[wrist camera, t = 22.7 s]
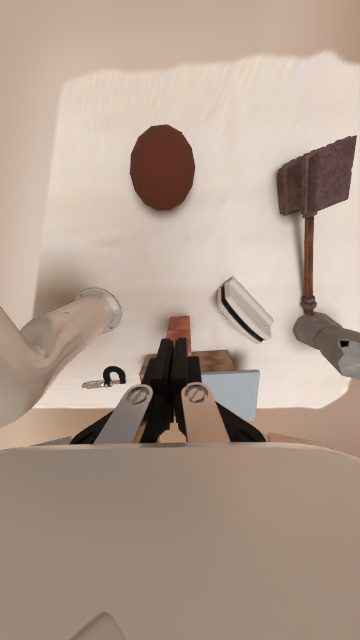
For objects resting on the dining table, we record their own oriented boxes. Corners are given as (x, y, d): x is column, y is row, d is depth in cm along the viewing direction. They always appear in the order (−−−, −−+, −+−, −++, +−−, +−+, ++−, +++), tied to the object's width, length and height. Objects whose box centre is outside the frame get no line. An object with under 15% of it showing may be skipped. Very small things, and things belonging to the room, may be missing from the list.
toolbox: (154, 394, 57) (149, 419, 48) (147, 354, 51) (139, 374, 42) (226, 391, 55) (233, 416, 47) (227, 349, 49) (235, 369, 41)
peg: (172, 333, 48) (165, 376, 31) (170, 317, 46) (161, 353, 29) (190, 332, 47) (192, 375, 31) (189, 315, 46) (190, 352, 29)
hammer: (313, 149, 31) (365, 126, 23) (307, 299, 48) (336, 317, 39) (275, 167, 32) (311, 150, 24) (282, 307, 49) (305, 326, 40)
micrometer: (122, 364, 53) (119, 369, 51) (128, 381, 56) (125, 387, 53) (78, 369, 54) (73, 374, 52) (86, 386, 57) (81, 391, 55)
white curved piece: (272, 318, 45) (280, 344, 37) (257, 327, 48) (260, 352, 40) (232, 274, 41) (230, 293, 33) (217, 286, 44) (213, 306, 36)
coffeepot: (279, 326, 46) (333, 369, 29) (307, 299, 43) (385, 329, 26) (317, 355, 49) (385, 408, 32) (346, 331, 46) (438, 376, 29)
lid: (191, 419, 47) (192, 433, 43) (187, 373, 41) (187, 384, 37) (253, 417, 46) (259, 431, 42) (258, 369, 40) (265, 381, 36)
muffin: (187, 222, 37) (187, 211, 28) (138, 212, 37) (121, 198, 28) (198, 154, 33) (203, 115, 24) (142, 142, 33) (125, 98, 23)
